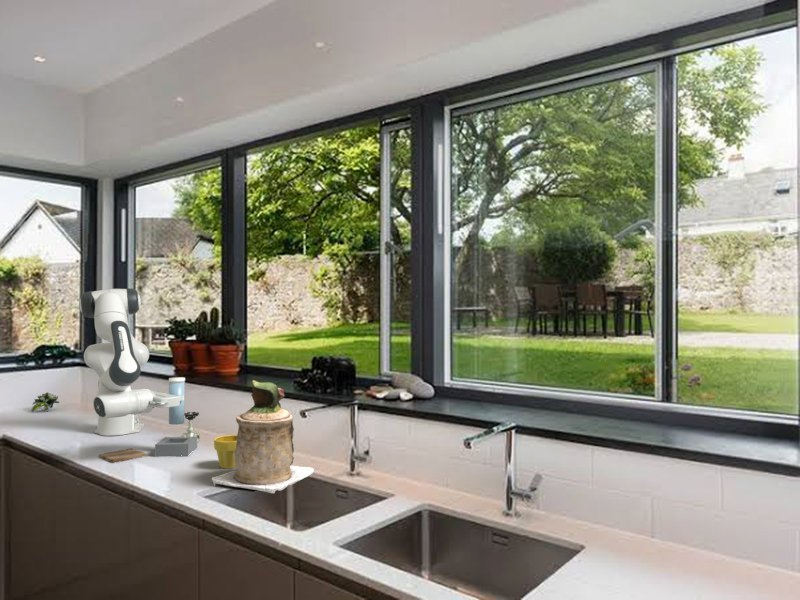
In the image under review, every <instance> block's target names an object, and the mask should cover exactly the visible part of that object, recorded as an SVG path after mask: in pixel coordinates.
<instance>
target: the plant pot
mask: <svg viewBox="0 0 800 600" xmlns="http://www.w3.org/2000/svg"><path fill="white" fill-rule="evenodd" d="M237 435H238V434H228V435H227V434H226V435H221V436H218V437H215V438H214V439H213V444H214V450H215V451H216V455H217V459H218V464H219V467H220V468H222V469H236V464H235V449H236V443H237Z"/></svg>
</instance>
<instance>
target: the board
mask: <svg viewBox="0 0 800 600" xmlns="http://www.w3.org/2000/svg"><path fill="white" fill-rule="evenodd" d="M142 456H145V457H147V453H146V452H143V451H139V450H138V449H134V448H132V447H131V448H125V449H120V450H115V451H109V452H106V453H105V452H104V453H100V454H98V457H99V459H103V460H104V461H105V460H106V461H107V460H108V462H109V461H110V463H112V464H115V462H116V463H120V462H119V461H121V462H125V461H124V460H126V461H129V459H131V460H134V459H133V458H135V459H138V458H137V457H140V458H143V457H142Z"/></svg>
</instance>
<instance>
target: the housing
mask: <svg viewBox="0 0 800 600" xmlns="http://www.w3.org/2000/svg"><path fill="white" fill-rule="evenodd" d="M196 448H197V449H198V443H197V437H181V436H165V437H164V438H162V439H161V440H160V441H158V442H157V443H155V444H154V457H155V456H176V457H189V456H190V455H191V454H192V453H193V452H192V451H194V450H195V449H196ZM197 449H196V450H197ZM196 450H195V451H196ZM195 451H194V452H195ZM191 452H192V453H191ZM190 453H191V454H190ZM189 454H190V455H189ZM181 455H182V456H181ZM188 455H189V456H188Z"/></svg>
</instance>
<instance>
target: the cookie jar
mask: <svg viewBox="0 0 800 600" xmlns="http://www.w3.org/2000/svg"><path fill="white" fill-rule="evenodd" d="M251 383H252V386H253V387H252V393H251V394H250V395H251V397H252V400H253V403H254V404H253V406H252V407H250V408H249V409H248V410H247V411H246V412H244V413H242V414H241V413H240V414H239V415H237V416H236V417H235V421H236V423H237V425H238V431H237V434H236V435H237V443H236V449H235V464H236V467H235V470H232V471H229V472H225V473H223V474H220V475H217V476H212V477H211V481H212V482H213V486H214V487H215V486H216V485H223V486H226V487H234V488H241V489H247V490H253V491H254V490H255V491H260V492H264V493H269V494H275V493H276V491H283V490H284V489H286V488H287V487H288V486H292V485H294V484H296V483H298V482H300V481H301V480H303V479H305V478H307V477H309V476H311V475H313V473H314V472H315V470H314V468H313V467H308V466H298V465H293V462H294V455H293V454H294V452H295V448H294V443H293V442H294V441H293V439H294V430H295V428H294V422H293V415H292V414H290V412H289V411H288V410H286V409H284V408H282V407H281V403H280V401H281V400H283V399H284V398H285V390H284V389H283V388H281V387H278V386H277V385H276V383H273V382H268V381H267V382H259V381H257V380H251Z"/></svg>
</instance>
